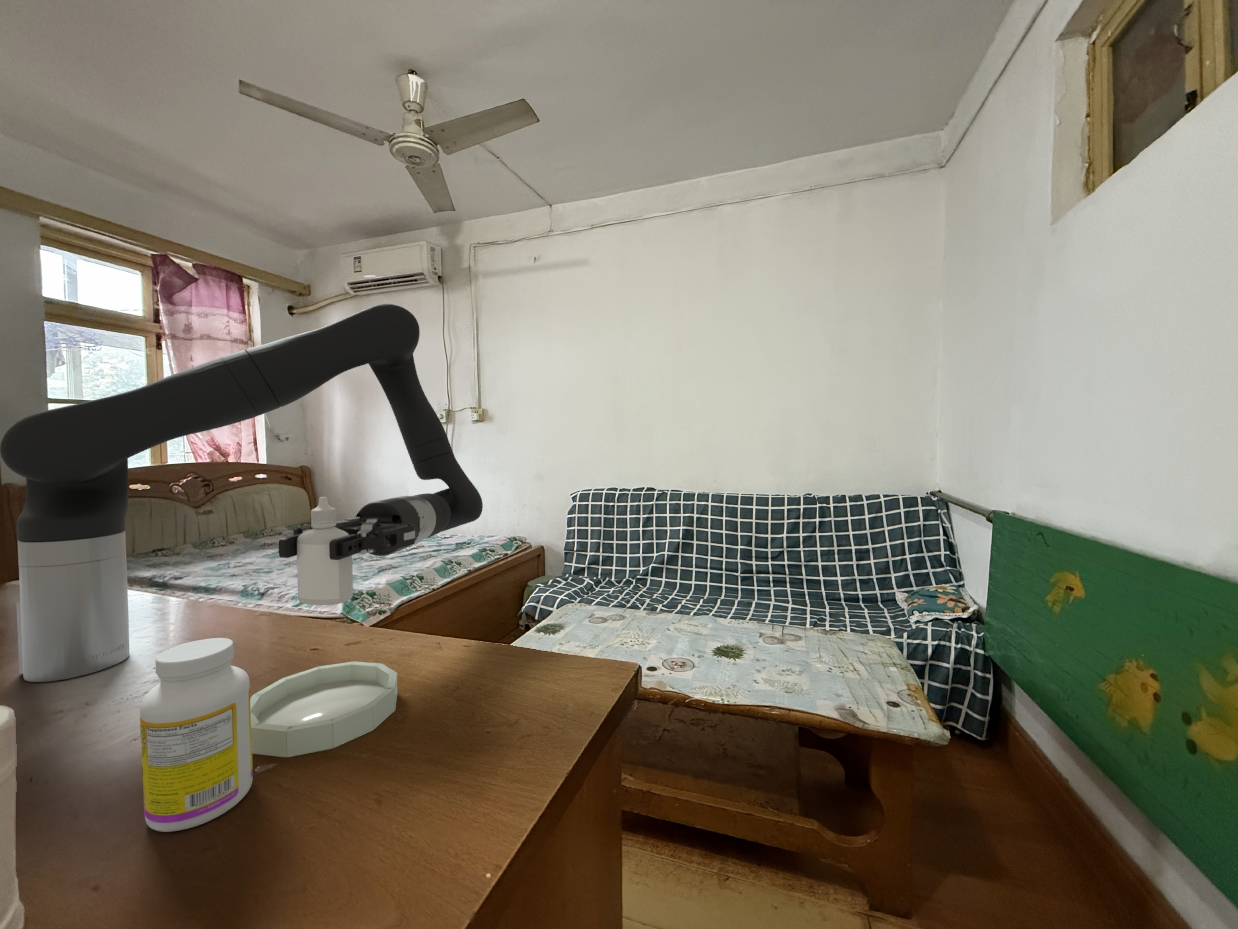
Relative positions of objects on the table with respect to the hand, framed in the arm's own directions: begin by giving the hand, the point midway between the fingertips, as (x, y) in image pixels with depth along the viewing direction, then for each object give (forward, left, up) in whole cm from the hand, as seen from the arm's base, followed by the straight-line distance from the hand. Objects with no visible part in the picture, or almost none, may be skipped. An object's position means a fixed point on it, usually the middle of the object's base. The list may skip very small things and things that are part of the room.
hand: (307, 549), depth 52 cm
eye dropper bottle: (0, +3, -7) cm, 7 cm away
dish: (+2, -1, -18) cm, 18 cm away
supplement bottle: (+2, -14, -18) cm, 23 cm away
